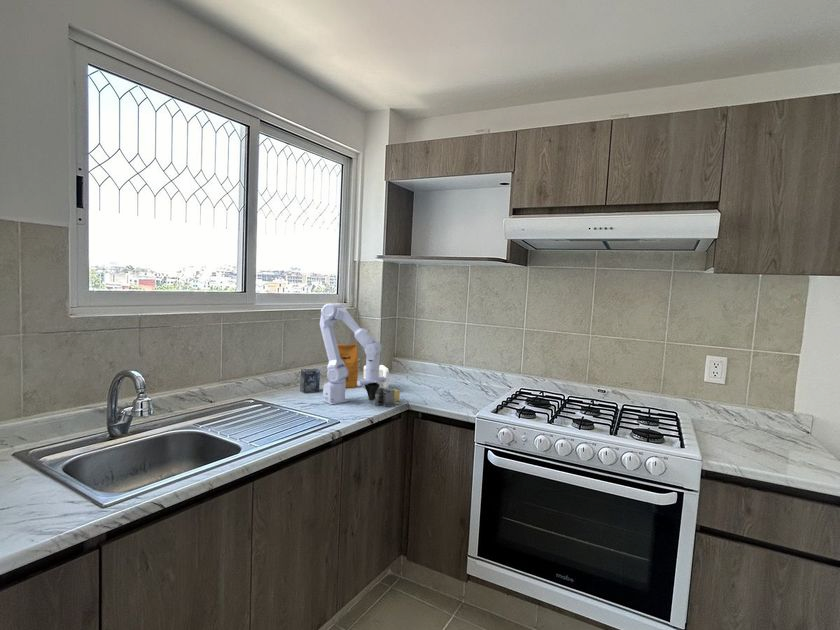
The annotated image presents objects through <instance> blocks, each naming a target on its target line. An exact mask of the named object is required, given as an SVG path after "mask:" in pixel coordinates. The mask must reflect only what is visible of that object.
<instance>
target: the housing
mask: <svg viewBox="0 0 840 630" xmlns="http://www.w3.org/2000/svg"><path fill="white" fill-rule="evenodd" d="M393 389H394V388H393ZM393 389H392V388H389V387H388V388H387V387H383V386H379V388H378V389H377V391H376V393H375V394H378V395H379V400H383V406H384V405H385V406H384V407H386V408H387V407H388V408H392V406H393V407H397V406H396V405H398V403H397V402H394V393H395V390H393ZM384 390H385V391H384ZM369 401H370V402H371V400H369Z"/></svg>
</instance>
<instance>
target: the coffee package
mask: <svg viewBox="0 0 840 630" xmlns="http://www.w3.org/2000/svg"><path fill="white" fill-rule="evenodd" d="M337 346H338V350H339V354H340V358H341V360H342V361H343V362H344V364H345V366H346V367H347V369H348V376H347V377H346V387H345V389H351V388H356V387H358V385H357V381H358V376H359V373H358V372H359V355H358V347H357V343H350V344H339V343H337Z"/></svg>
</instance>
